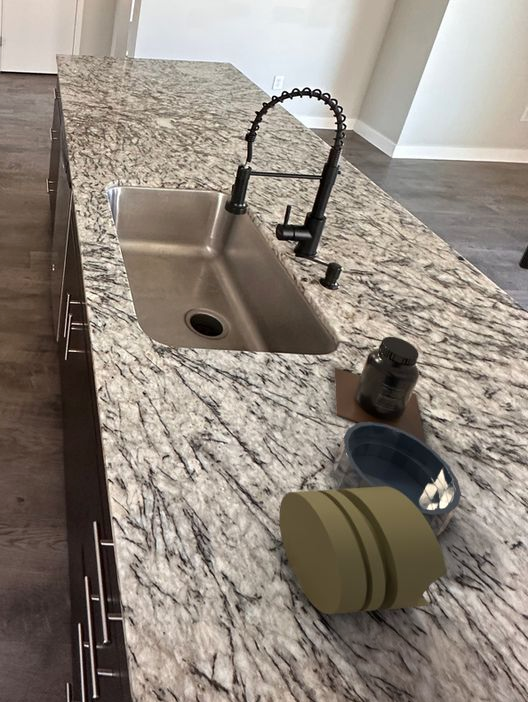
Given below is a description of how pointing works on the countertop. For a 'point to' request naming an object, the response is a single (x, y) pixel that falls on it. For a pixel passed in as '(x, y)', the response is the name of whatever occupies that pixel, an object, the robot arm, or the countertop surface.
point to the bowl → (398, 469)
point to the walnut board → (355, 412)
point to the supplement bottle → (388, 379)
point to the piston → (359, 549)
